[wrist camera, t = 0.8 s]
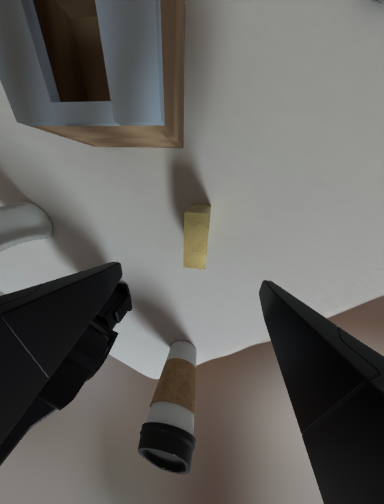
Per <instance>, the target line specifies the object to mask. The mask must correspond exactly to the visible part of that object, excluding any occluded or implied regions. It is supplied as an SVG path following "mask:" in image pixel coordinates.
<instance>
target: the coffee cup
mask: <svg viewBox="0 0 384 504" xmlns="http://www.w3.org/2000/svg"><path fill="white" fill-rule="evenodd" d="M195 393H196V348H195V347H194V346H193V345H192V344H190V343H188V342H185V341H177V342H174V343H173V344H172V346H171V348H170V351H169V354H168V357H167V360H166V363H165V365H164V368H163V371H162V374H161V377H160V379H159V382H158V385H157V388H156V391H155V393H154V396H153V399H152V402H151V405H150V411H149V414H148V417H147V420H146V423H144V424H143V425H142V430H141V432H140V435H141V436H140V442H139V447H138V452H139V453H140V454H141V455H142V456H143V457H144V458H145V459H146V460H148V461H149V462H150V463H152V464H153V465H155V466H156V467H158V468H160V469H162V470H165V471H168V472H171V473H176V474H187V473H189V472H190V466H191V460H192V453H193V450H194V448H195V441H196V440H195V437H194V436H193V427H194V419H195V396H196V394H195Z"/></svg>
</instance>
